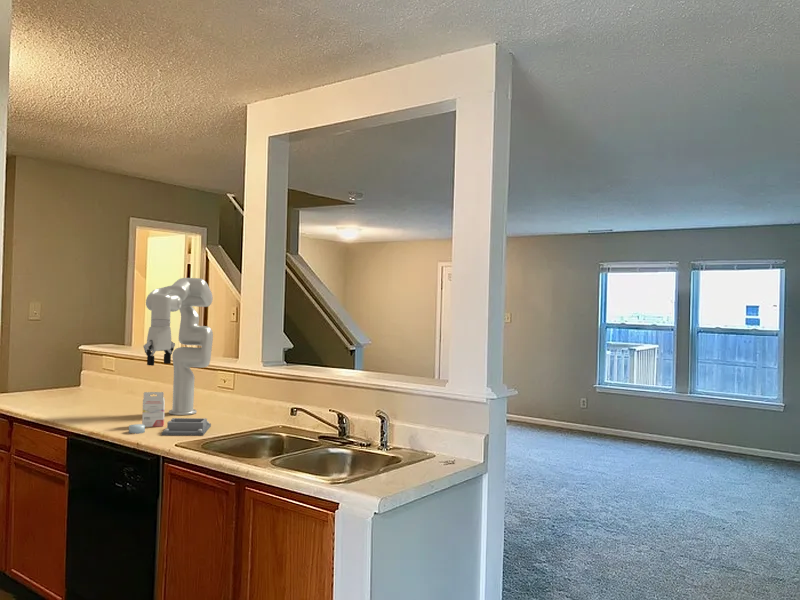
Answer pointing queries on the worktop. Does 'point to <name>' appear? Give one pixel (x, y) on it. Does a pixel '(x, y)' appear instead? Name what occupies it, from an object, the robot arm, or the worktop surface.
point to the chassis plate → (187, 426)
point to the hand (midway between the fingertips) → (158, 364)
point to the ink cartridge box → (153, 409)
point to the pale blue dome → (137, 428)
